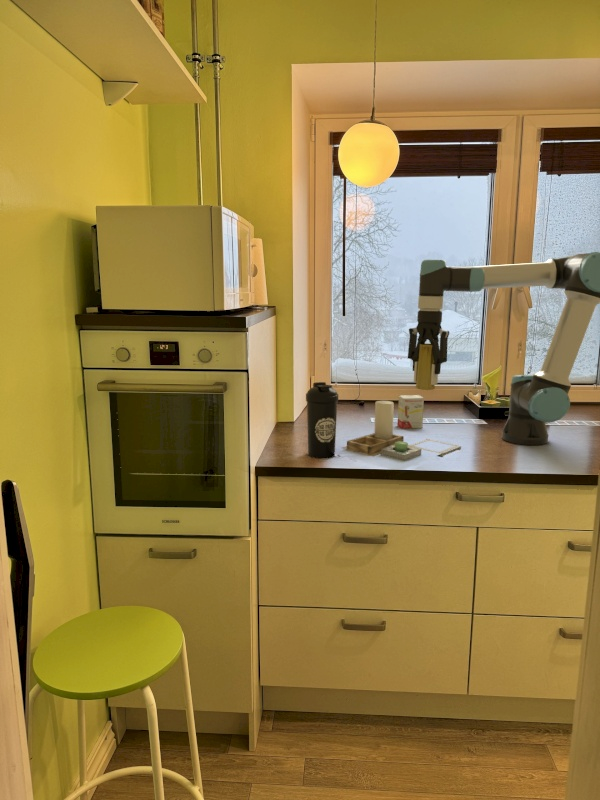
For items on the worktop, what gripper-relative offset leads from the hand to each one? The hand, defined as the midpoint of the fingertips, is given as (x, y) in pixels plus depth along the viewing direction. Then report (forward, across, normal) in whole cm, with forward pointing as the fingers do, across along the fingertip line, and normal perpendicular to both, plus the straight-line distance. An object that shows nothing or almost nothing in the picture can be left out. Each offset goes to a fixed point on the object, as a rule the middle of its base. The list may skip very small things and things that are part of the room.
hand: (425, 382), depth 190 cm
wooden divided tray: (+23, +11, +11) cm, 27 cm away
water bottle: (+23, +19, +28) cm, 41 cm away
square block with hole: (+23, -1, +13) cm, 26 cm away
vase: (+2, 0, 0) cm, 2 cm away
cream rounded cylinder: (+21, +11, +6) cm, 25 cm away
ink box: (+23, +20, -23) cm, 38 cm away
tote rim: (+22, -3, -4) cm, 23 cm away
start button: (+20, -1, +13) cm, 23 cm away
